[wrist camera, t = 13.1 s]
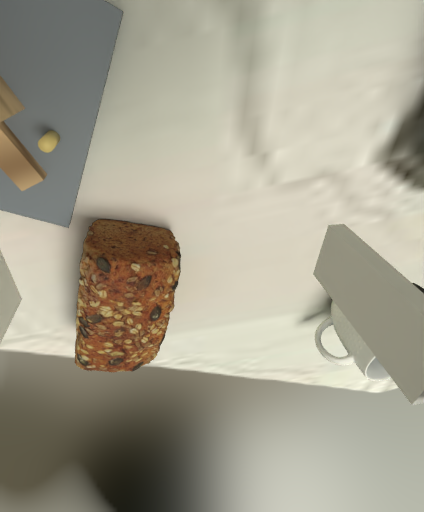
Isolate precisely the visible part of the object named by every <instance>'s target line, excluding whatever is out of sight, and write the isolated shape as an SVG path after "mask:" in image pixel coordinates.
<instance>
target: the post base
mask: <svg viewBox="0 0 424 512" xmlns="http://www.w3.org/2000/svg"><path fill="white" fill-rule="evenodd" d="M122 15H123V11H122V10H120V9H118V8H117V7H115V6H113V5H111V4H110V3H108V2H106V1H105V0H0V76H1V77H2V78H3V80H4V81H5V82H6V84H7V85H8V86H9V88H10V89H11V90H12V91H13V93H14V94H15V95H16V97H17V98H18V99H19V101H20V102H21V103H22V105H23V106H24V107H25V109H23V110H22V111H20V112H18V113H16V114H15V115H13V116H11V117H9V118H7V119H6V120H4V122H5V123H6V125H7V126H8V127H9V128H10V130H11V131H12V132H13V133H14V134H15V136H16V137H17V138H18V139H19V141H20V142H21V143H22V144H23V145H24V147H25V148H26V149H27V150H28V151H29V153H30V154H31V155H32V156H33V158H34V159H35V160H36V161H37V162H38V164H39V165H40V166H41V167H42V168H43V170H44V171H45V172H46V173H47V176H46V177H45V179H44V180H43V181H41V182H39V183H37V184H35V185H33V186H31V187H30V188H28V189H26V190H24V191H21V190H20V189H19V188H18V186H17V185H16V184H15V183H14V182H13V181H12V180H11V179H10V178H9V177H8V176H7V174H6V173H5V172H4V171H3V170H2V169H1V168H0V210H2V211H6V212H10V213H14V214H18V215H21V216H25V217H29V218H33V219H37V220H41V221H44V222H48V223H52V224H56V225H60V226H64V227H67V228H69V225H70V222H71V218H72V214H73V210H74V206H75V202H76V198H77V194H78V190H79V186H80V182H81V178H82V174H83V170H84V166H85V162H86V158H87V154H88V150H89V146H90V142H91V138H92V134H93V130H94V126H95V123H96V119H97V115H98V111H99V107H100V103H101V99H102V95H103V91H104V87H105V83H106V79H107V75H108V71H109V67H110V63H111V59H112V55H113V51H114V47H115V43H116V39H117V35H118V31H119V27H120V23H121V19H122Z"/></svg>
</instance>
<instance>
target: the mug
mask: <svg viewBox="0 0 424 512" xmlns="http://www.w3.org/2000/svg"><path fill="white" fill-rule="evenodd" d="M331 325H334V328H335V330H336V333H337V335H338V337H339V339H340V341H341V342H342V344H343V346H344V348H345V349H346V350H347V352H348V355H347V356H345V357H335V356H333V355H331V354H330V353H328V352H327V351H326V350H325V349H324V348H323V346H322V344H321V334H322V332H323V331H324V330H325V329H326V328H327V327H328V326H331ZM315 343H316V346H317V348H318V350H319V352H320V353H321V354H322V356H323V357H325V358H326V359H327V360H328V361H330V362H332V363H334V364H337V365H349V364H353V363H356V365H357V366H358V367H359V369H360V370H361V371H362V373H363V374H364V375H365V377H366V378H367V379H369V380H371V381H383V380H388V379H391V376H390V375H389V374H388V373H387V371H386V370H385V369H384V367H383V366H382V365H381V363H380V362H379V361H378V359H377V358H376V357H375V355H374V354H373V353H372V351H371V350H370V349H369V347H368V346H367V345H366V343H365V342H364V341H363V339H362V338H361V337H360V335H359V334H358V333H357V331H356V330H355V329H354V327H353V326H352V325H351V323H350V322H349V321H348V320H347V318H346V317H345V316H344V314H343V313H342V312H341V310H340V309H339V308H338V306H337V305H336V304H335V302H334V301H332V304H331V317H329V318H328V319H326V320H325V321H324V322H323V323H321V324H320V325H319V327H318V328H317V330H316V332H315Z"/></svg>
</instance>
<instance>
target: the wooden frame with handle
mask: <svg viewBox="0 0 424 512" xmlns="http://www.w3.org/2000/svg"><path fill="white" fill-rule="evenodd" d="M23 109H25V107H24V106H23V105H22V103H21V102H20V101H19V99H18V98H17V97H16V95H15V94H14V93H13V91H12V90H11V89H10V88H9V86H8V85H7V84H6V82H5V81H4V80H3V78H2V77H1V76H0V168H1V169H2V170H3V171H4V172H5V173H6V174H7V176H8V177H9V178H10V179H11V180H12V181H13V182H14V183H15V184H16V185H17V186H18V188H19V189H20V190H21V191H24V190H26V189H28V188H30V187H31V186H33V185H35V184H37V183H39V182H41V181H43V180H44V179H45V177H46V176H47V173H46V172H45V171H44V170H43V168H42V167H41V166H40V165H39V164H38V162H37V161H36V160H35V159H34V158H33V156H32V155H31V154H30V153H29V151H28V150H27V149H26V148H25V147H24V145H23V144H22V143H21V142H20V141H19V139H18V138H17V137H16V136H15V134H14V133H13V132H12V131H11V130H10V128H9V127H8V126H7V125H6V123H5V122H4V120H6V119H7V118H9V117H11V116H13V115H15V114H16V113H18V112H20V111H22V110H23Z"/></svg>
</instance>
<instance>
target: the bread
mask: <svg viewBox="0 0 424 512" xmlns="http://www.w3.org/2000/svg"><path fill="white" fill-rule="evenodd" d="M180 258H181V254H180V247H179V243H178V242H177V241H175V237H174V235H173V233H172V232H171V231H170V230H166V229H163V228H159V227H155V226H147V225H143V224H135V223H130V222H127V221H117V220H110V219H100V220H96V221H95V222H94V223H92V226H89V231H88V232H87V237H86V238H85V240H84V243H83V254H82V259H81V261H80V273H81V278H80V279H79V284H80V285H79V291H78V301H77V313H76V314H77V317H76V327H77V328H76V334H77V339H76V343H75V354H76V355H75V363H76V365H77V366H78V367H80V368H81V369H84V370H90V371H91V370H97V371H109V372H117V371H134V370H136V369H138V368H139V367H141V366H143V365H145V364H148V363H150V361H151V360H153V359H154V358H155V357H156V356H157V353H158V351H159V349H160V345H161V343H162V342H163V340H164V338H165V333H166V330H167V325H168V321H169V313H170V312H171V311H172V310H173V308H174V293H175V289H176V287H177V285H178V279H179V276H180V272H181V271H180Z"/></svg>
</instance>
